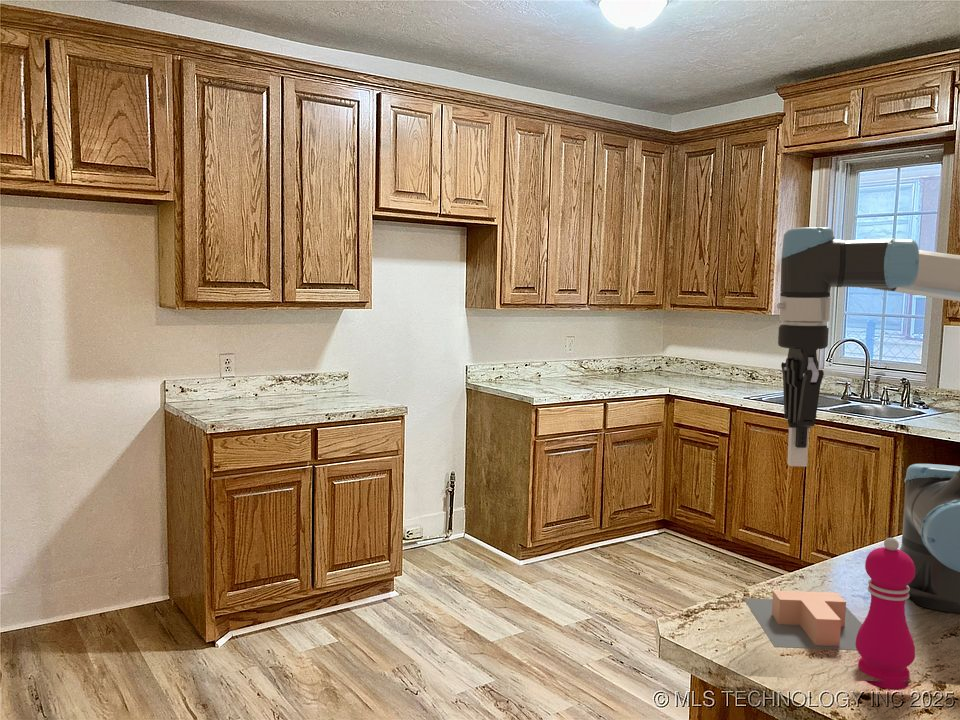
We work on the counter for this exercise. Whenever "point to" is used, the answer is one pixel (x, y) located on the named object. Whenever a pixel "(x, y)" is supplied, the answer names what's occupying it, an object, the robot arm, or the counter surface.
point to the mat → (799, 628)
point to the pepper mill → (887, 618)
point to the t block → (812, 614)
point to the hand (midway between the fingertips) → (797, 465)
